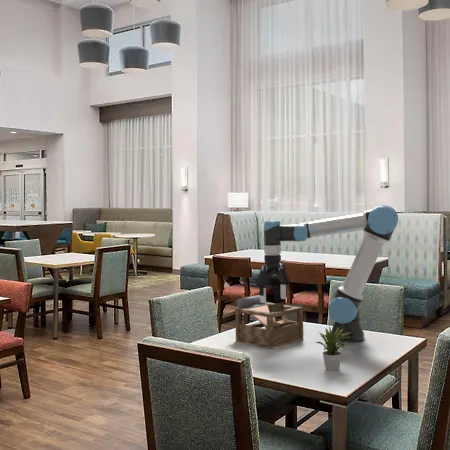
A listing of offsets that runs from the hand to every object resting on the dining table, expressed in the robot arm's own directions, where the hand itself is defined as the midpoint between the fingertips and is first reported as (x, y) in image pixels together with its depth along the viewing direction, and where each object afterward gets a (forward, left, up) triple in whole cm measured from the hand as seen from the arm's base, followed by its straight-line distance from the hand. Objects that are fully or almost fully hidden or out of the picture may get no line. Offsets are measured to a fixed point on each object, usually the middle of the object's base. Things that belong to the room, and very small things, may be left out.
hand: (273, 300), depth 255 cm
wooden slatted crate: (+3, 0, -19) cm, 19 cm away
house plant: (-46, +18, -19) cm, 53 cm away
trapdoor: (+8, 0, -8) cm, 11 cm away
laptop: (+16, -25, -19) cm, 36 cm away
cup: (-3, 0, -9) cm, 9 cm away
